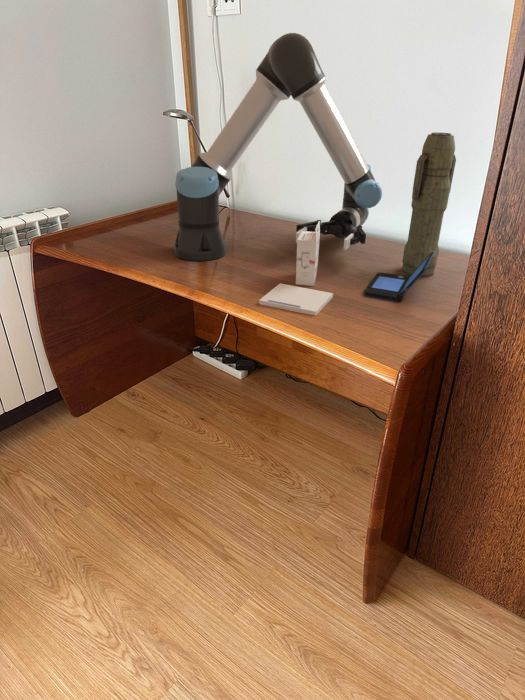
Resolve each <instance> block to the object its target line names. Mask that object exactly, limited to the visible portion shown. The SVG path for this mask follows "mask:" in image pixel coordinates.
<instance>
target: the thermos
mask: <svg viewBox="0 0 525 700" xmlns="http://www.w3.org/2000/svg"><path fill="white" fill-rule="evenodd" d="M455 151H456V143H455V135H453V134H452V133H451V132H430V134H427V137H426V139H425V141H424V143H423V146H422V149H421V154H420V156H419V157H418V159H417V160H416V166H415V170H414V171H415V172H414V179H413V186H412V193H411V209H412V210H411V219H410V222H409V223H410V224H409V231H408V235H407V236H408V237H407V241H406V243H405V245H404V250H403V255H402V267H401V272H402V273H403V274H404V275H405V276H407V275H408V276H409V275H410V274H412V273H413V272H414V271H415V270H416V269H417V268H418V267H419V266H420V265H421V263H422V262H423V261H424V260H425V259H426V258H427V257H428V256H429V255H430V253H431V252H434V254H433V256H432V258H431V260H430V262H429V264H428V266H427V268H426V270H425V272H424V273H423V274H422V275H421V276H420V277H419V278H429V277H430V278H431V277H433V276H434V275H435V270H436V269H435V268H436V266H437V263H438V256H439V251H440V247H439V240H440V236H441V235H440V234H441V231H442V226H443V220H444V213H445V211H446V210H447V208H448V203H449V197H450V193H451V189H452V188H451V187H452V183H453V178H454V172H455V167H456V162H457V158H456V155H455Z"/></svg>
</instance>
